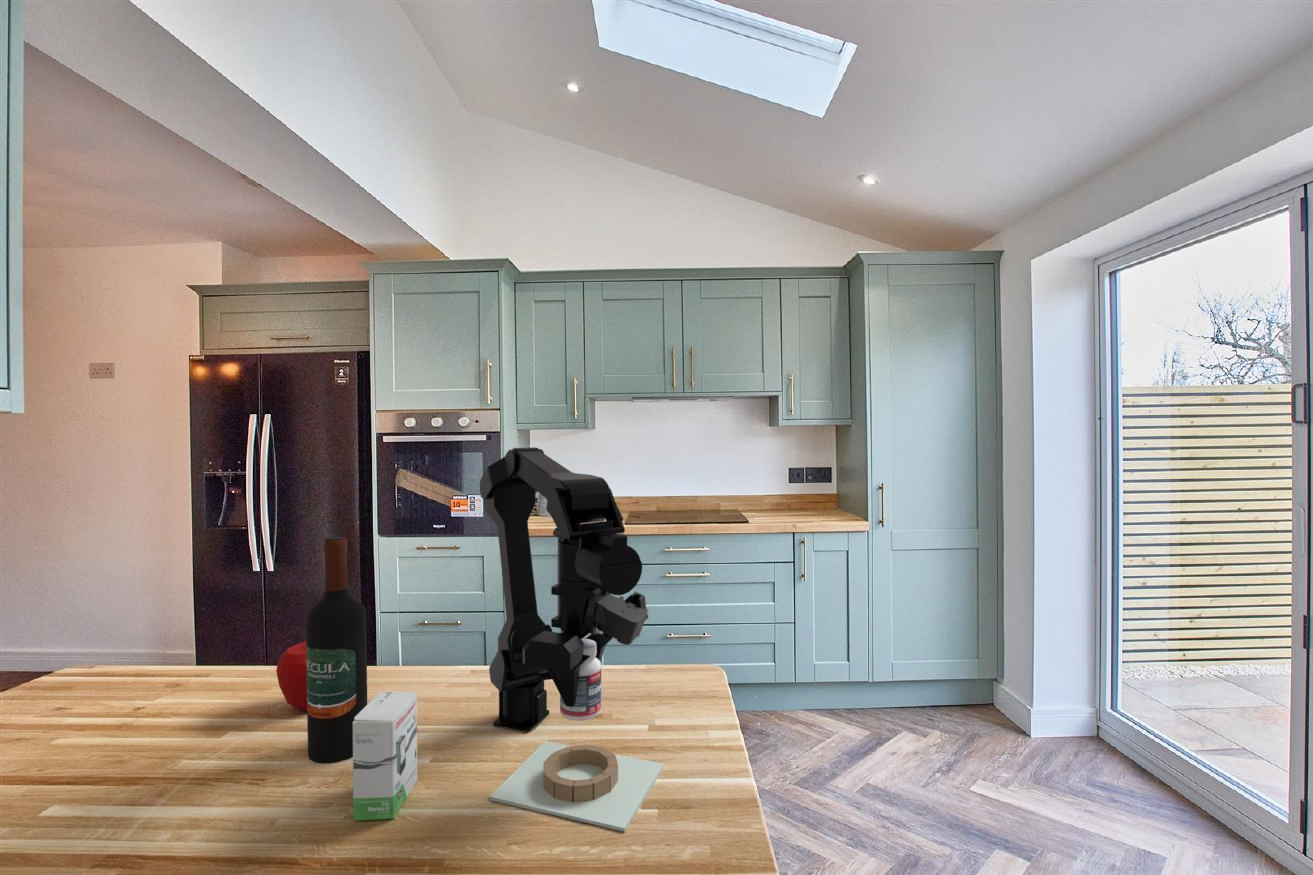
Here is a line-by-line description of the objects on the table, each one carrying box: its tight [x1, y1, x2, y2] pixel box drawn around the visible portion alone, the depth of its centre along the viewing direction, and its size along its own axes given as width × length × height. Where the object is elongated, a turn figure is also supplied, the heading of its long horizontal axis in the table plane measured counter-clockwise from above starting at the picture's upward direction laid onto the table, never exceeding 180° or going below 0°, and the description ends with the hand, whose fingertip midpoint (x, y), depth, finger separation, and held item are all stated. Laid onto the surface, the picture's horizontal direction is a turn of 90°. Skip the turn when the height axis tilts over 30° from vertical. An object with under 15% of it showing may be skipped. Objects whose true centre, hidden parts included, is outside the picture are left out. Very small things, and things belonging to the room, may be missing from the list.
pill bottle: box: [559, 639, 602, 722], centre depth 80 cm, size 5×5×9 cm
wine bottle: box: [305, 536, 368, 765], centre depth 88 cm, size 8×8×30 cm
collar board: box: [488, 740, 665, 832], centre depth 80 cm, size 18×14×2 cm
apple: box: [275, 641, 307, 712], centre depth 102 cm, size 10×10×11 cm
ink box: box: [352, 690, 418, 821], centre depth 77 cm, size 9×5×12 cm, turn 2°
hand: (580, 696), depth 80 cm, fingers closed on pill bottle, 5 cm apart
